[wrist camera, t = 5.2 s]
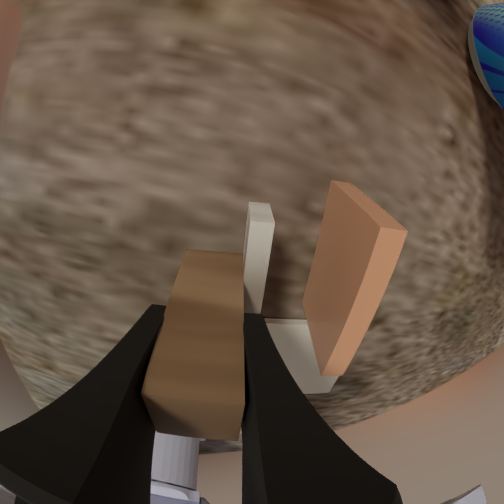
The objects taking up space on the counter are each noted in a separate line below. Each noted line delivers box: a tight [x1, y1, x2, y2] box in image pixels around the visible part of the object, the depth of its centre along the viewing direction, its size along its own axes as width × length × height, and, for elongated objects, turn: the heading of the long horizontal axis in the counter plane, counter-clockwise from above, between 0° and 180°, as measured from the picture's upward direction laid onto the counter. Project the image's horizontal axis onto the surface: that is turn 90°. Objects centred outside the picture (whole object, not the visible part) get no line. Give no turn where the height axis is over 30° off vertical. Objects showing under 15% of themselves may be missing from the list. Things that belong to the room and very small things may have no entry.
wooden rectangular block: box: [141, 202, 275, 441], centre depth 9 cm, size 7×3×7 cm, turn 174°
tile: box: [302, 180, 408, 377], centre depth 13 cm, size 8×1×6 cm, turn 174°
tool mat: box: [264, 318, 339, 394], centre depth 20 cm, size 9×9×1 cm
